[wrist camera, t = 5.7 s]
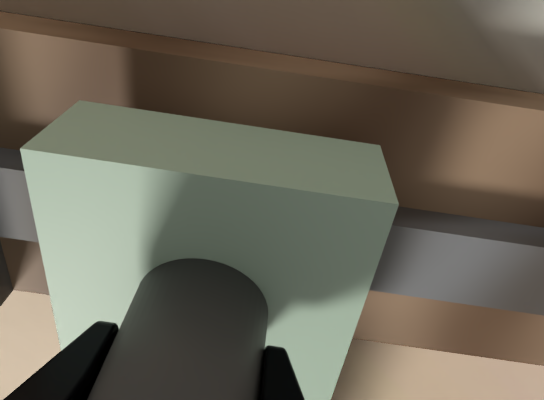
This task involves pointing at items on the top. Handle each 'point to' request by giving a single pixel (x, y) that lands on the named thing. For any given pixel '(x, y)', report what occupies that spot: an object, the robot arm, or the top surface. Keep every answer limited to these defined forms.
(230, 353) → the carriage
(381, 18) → the top surface
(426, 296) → the rail bed
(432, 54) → the top surface
